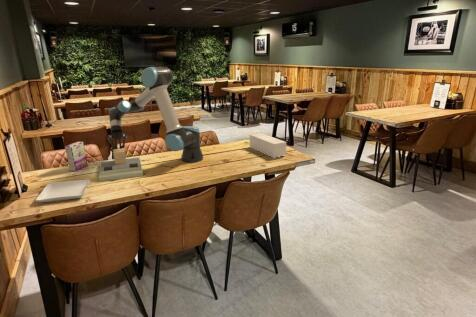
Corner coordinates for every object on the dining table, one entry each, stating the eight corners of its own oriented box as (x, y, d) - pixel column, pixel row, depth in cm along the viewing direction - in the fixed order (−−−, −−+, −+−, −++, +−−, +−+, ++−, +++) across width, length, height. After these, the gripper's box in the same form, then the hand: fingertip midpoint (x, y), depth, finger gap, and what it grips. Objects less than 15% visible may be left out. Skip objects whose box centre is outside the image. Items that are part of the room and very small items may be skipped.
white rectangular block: (249, 147, 235) (249, 134, 231) (260, 145, 240) (261, 132, 236) (273, 158, 208) (274, 144, 205) (285, 156, 213) (286, 141, 210)
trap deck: (101, 165, 197) (101, 161, 196) (139, 160, 205) (139, 157, 204) (99, 181, 170) (98, 177, 169) (143, 175, 178) (142, 171, 178)
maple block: (115, 161, 197) (113, 149, 194) (126, 160, 199) (124, 148, 197) (114, 164, 190) (113, 152, 188) (126, 163, 193) (125, 151, 190)
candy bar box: (81, 165, 197) (77, 141, 192) (88, 165, 196) (83, 141, 191) (69, 171, 187) (64, 146, 182) (76, 171, 186) (71, 146, 181)
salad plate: (84, 200, 148) (83, 194, 147) (35, 206, 143) (34, 199, 141) (91, 184, 168) (90, 178, 166) (49, 188, 162) (47, 183, 161)
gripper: (126, 129, 213) (130, 158, 204) (106, 131, 209) (109, 160, 200) (125, 123, 207) (129, 153, 198) (105, 125, 203) (108, 155, 193)
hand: (119, 157), depth 199 cm, fingers closed
